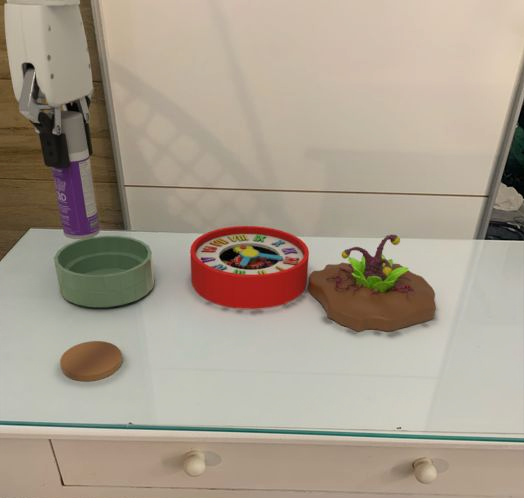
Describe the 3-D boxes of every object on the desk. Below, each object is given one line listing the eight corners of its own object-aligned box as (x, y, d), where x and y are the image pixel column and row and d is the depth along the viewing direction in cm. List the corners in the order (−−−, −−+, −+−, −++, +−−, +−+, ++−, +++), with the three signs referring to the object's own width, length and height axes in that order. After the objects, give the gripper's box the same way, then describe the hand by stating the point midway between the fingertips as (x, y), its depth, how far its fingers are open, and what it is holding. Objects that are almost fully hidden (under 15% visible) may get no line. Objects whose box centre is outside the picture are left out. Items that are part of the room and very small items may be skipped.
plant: (456, 323, 87) (474, 258, 81) (341, 338, 83) (351, 271, 76) (397, 267, 103) (408, 208, 97) (298, 277, 98) (302, 217, 92)
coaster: (49, 375, 73) (47, 369, 73) (80, 342, 79) (79, 336, 79) (104, 386, 72) (103, 380, 71) (132, 352, 78) (131, 346, 77)
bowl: (42, 301, 88) (34, 267, 85) (89, 261, 100) (84, 230, 97) (129, 317, 85) (125, 282, 82) (168, 274, 98) (165, 242, 94)
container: (57, 236, 74) (34, 117, 65) (74, 223, 77) (55, 109, 69) (89, 241, 73) (71, 120, 64) (105, 227, 77) (90, 112, 68)
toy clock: (211, 220, 103) (317, 233, 100) (211, 249, 107) (314, 263, 103) (172, 266, 87) (297, 284, 84) (174, 299, 91) (294, 317, 87)
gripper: (52, -16, 67) (76, 141, 77) (-44, -12, 53) (1, 177, 64) (110, -13, 65) (126, 146, 76) (27, -8, 52) (61, 185, 62)
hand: (69, 159), depth 70 cm, fingers closed on container, 4 cm apart
